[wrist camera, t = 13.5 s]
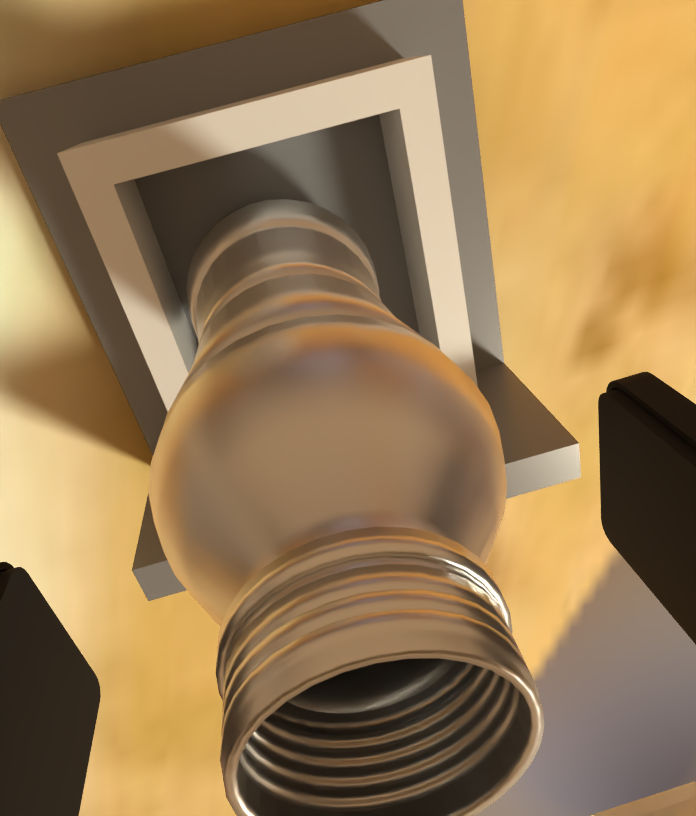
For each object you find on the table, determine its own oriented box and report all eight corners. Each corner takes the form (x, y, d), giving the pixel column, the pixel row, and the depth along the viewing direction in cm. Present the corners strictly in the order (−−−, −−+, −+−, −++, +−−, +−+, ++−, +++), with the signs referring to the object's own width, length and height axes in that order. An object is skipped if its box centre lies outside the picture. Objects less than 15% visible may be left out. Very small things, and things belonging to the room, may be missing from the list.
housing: (0, 101, 21) (-115, 113, 14) (451, -17, 22) (552, -61, 15) (169, 475, 29) (148, 600, 22) (499, 382, 30) (580, 477, 23)
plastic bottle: (172, 201, 23) (-44, 616, 5) (356, 174, 23) (716, 470, 6) (211, 362, 26) (155, 964, 8) (372, 336, 26) (639, 846, 9)
